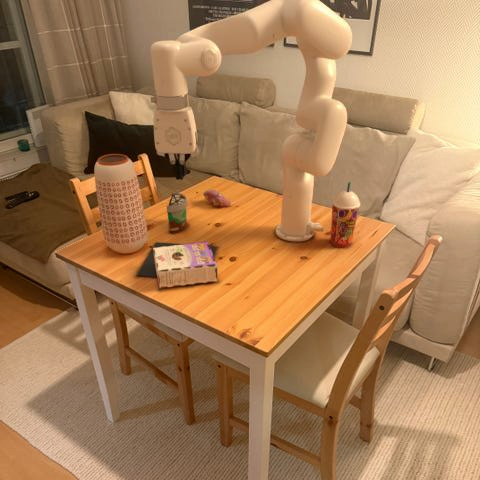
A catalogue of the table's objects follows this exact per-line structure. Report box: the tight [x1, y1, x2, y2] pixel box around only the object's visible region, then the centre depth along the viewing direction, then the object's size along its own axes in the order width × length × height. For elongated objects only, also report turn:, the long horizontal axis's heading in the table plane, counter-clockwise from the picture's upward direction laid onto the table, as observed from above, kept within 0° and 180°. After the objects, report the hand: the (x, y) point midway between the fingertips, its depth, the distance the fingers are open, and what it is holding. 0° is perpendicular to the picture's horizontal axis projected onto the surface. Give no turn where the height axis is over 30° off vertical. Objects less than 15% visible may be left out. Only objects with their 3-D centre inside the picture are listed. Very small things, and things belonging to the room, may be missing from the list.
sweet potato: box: [203, 188, 231, 207], centre depth 169 cm, size 10×5×7 cm, turn 47°
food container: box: [166, 191, 189, 234], centre depth 153 cm, size 12×6×10 cm, turn 179°
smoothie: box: [330, 181, 361, 248], centre depth 140 cm, size 8×8×20 cm
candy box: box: [152, 241, 218, 289], centre depth 129 cm, size 14×6×16 cm
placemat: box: [136, 242, 218, 279], centre depth 137 cm, size 20×20×1 cm
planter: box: [93, 153, 148, 255], centre depth 135 cm, size 13×13×28 cm
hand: (180, 177), depth 119 cm, fingers closed
